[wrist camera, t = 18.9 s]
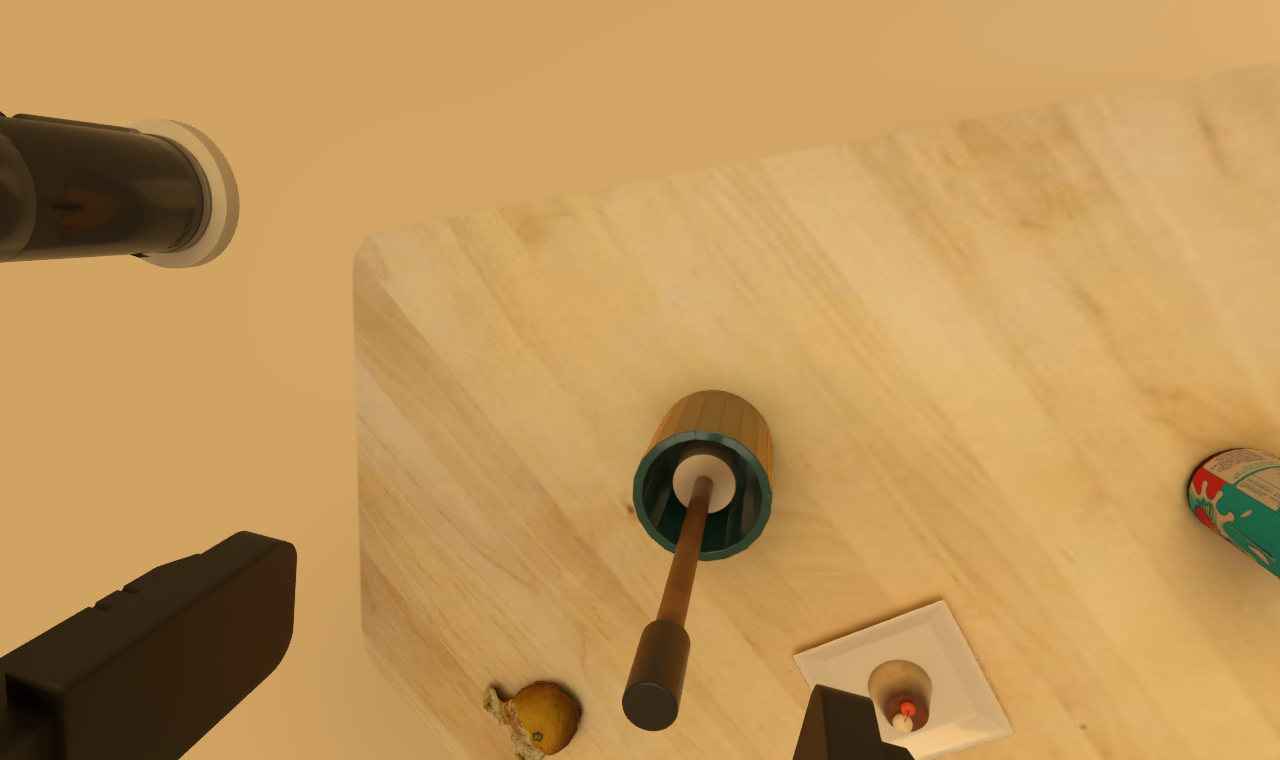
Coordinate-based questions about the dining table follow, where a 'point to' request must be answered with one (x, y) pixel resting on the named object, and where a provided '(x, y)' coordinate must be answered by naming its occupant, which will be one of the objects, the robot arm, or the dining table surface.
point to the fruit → (536, 719)
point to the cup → (752, 499)
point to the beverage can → (1241, 501)
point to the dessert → (914, 682)
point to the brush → (678, 588)
